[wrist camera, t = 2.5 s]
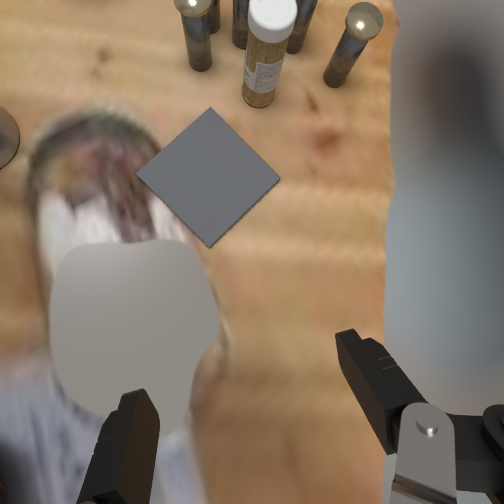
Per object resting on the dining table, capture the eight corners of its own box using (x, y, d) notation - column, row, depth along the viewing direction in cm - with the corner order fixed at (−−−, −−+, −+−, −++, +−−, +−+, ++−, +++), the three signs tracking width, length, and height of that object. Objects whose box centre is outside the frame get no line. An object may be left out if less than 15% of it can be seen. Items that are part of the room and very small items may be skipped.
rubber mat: (138, 176, 39) (135, 173, 38) (210, 110, 40) (210, 106, 39) (209, 248, 39) (208, 247, 38) (279, 180, 40) (280, 177, 39)
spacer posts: (162, 43, 40) (143, -29, 31) (247, -28, 42) (254, -117, 33) (273, 154, 40) (288, 117, 31) (353, 78, 42) (390, 21, 33)
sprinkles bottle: (240, 76, 41) (248, -20, 27) (274, 77, 41) (297, -18, 28) (242, 109, 40) (250, 27, 27) (275, 109, 41) (299, 28, 28)
